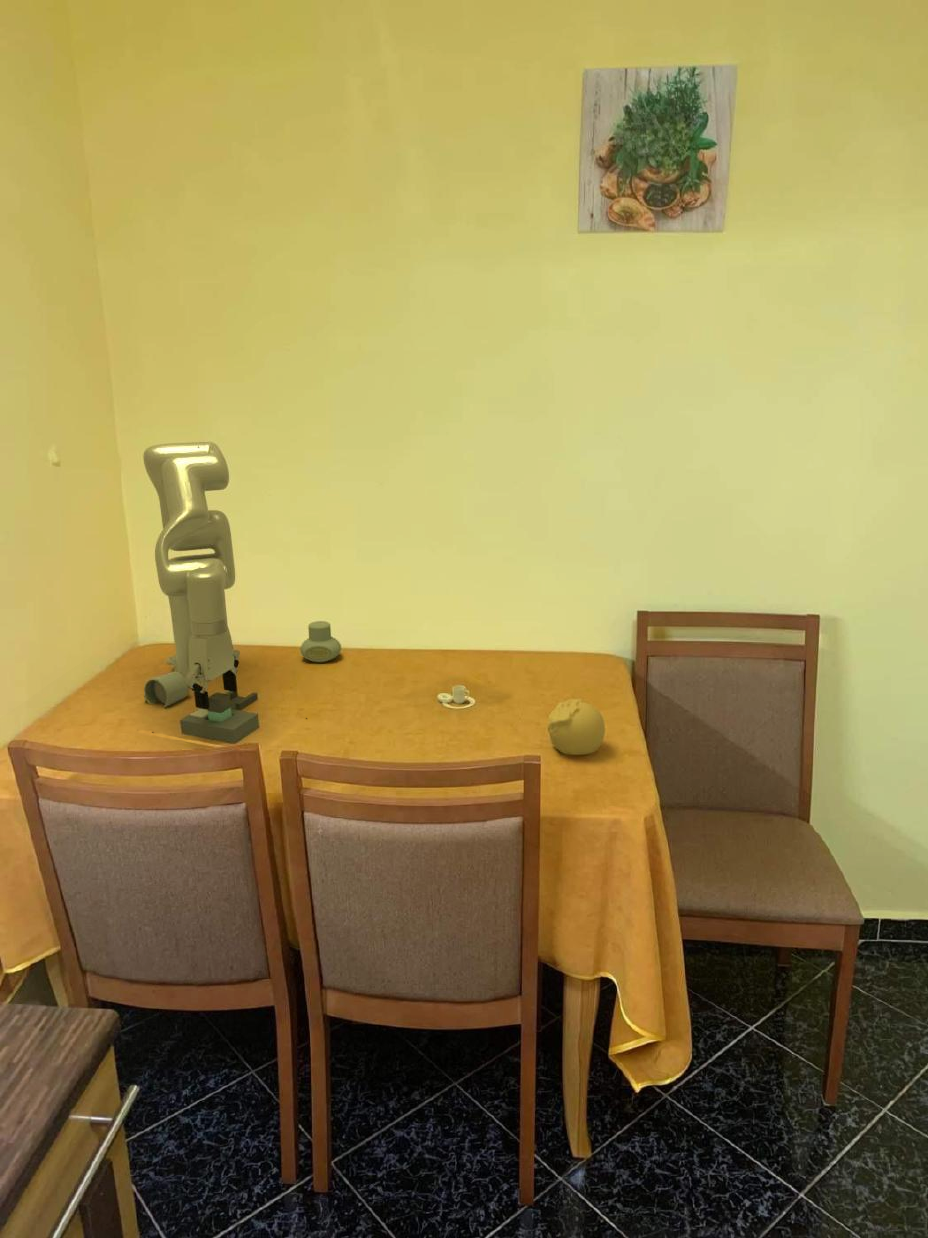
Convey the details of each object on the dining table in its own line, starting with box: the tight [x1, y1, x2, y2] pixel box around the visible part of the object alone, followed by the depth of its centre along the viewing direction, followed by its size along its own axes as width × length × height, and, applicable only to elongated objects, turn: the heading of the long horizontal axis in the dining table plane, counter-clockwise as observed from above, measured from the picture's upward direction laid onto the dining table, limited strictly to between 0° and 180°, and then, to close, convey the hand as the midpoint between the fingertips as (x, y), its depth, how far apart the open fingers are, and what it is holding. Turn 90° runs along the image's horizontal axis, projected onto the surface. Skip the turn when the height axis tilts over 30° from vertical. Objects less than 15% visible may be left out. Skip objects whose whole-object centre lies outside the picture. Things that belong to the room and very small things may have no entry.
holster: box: [225, 690, 259, 711], centre depth 206 cm, size 7×7×2 cm
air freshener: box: [300, 620, 342, 664], centre depth 235 cm, size 11×8×10 cm
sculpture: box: [547, 698, 606, 756], centre depth 181 cm, size 12×12×11 cm
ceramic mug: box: [143, 671, 191, 709], centre depth 208 cm, size 11×8×8 cm
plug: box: [208, 692, 232, 723], centre depth 190 cm, size 4×4×8 cm
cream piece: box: [437, 684, 476, 710], centre depth 207 cm, size 9×8×4 cm
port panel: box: [179, 708, 260, 745], centre depth 191 cm, size 14×9×4 cm, turn 68°
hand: (216, 699), depth 190 cm, fingers open, 9 cm apart
